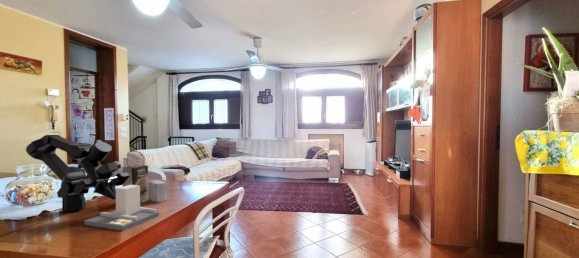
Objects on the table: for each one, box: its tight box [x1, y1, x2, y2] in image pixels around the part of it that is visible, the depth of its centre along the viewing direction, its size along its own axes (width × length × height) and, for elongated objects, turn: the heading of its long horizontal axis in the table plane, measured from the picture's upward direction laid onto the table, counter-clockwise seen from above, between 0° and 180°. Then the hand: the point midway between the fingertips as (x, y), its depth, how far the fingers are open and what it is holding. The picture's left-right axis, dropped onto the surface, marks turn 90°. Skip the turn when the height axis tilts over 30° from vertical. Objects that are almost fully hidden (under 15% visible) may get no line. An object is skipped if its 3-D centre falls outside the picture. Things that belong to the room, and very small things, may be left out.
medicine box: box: [148, 180, 167, 203], centre depth 120 cm, size 8×4×9 cm, turn 58°
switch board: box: [84, 206, 160, 232], centre depth 95 cm, size 18×15×3 cm
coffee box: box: [121, 164, 149, 202], centre depth 120 cm, size 9×6×16 cm
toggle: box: [115, 185, 141, 215], centre depth 97 cm, size 6×6×10 cm
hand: (115, 198), depth 99 cm, fingers closed
